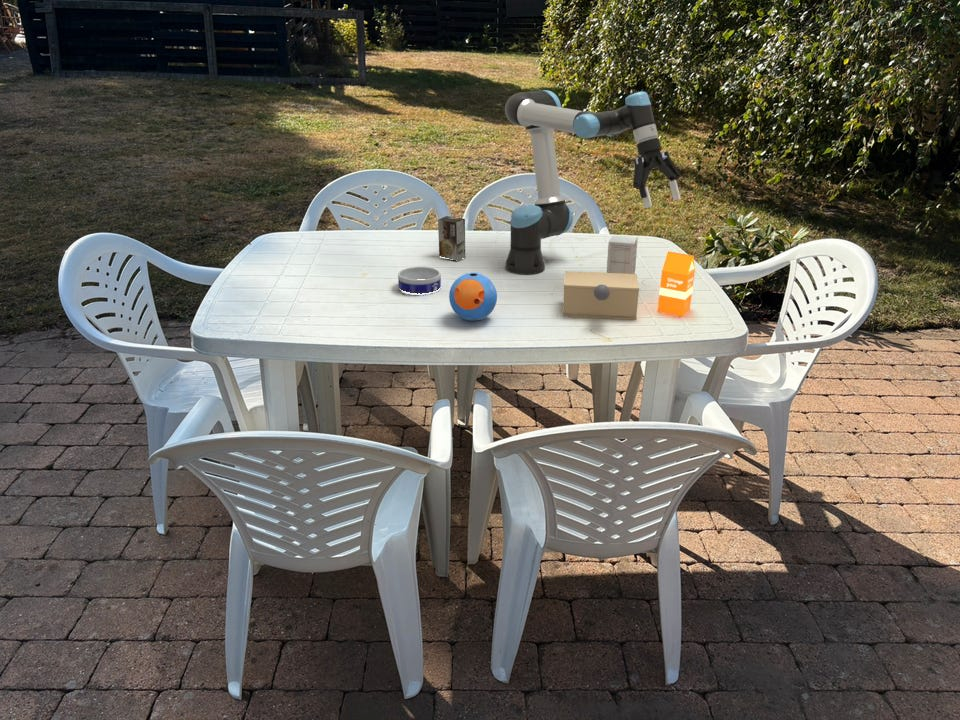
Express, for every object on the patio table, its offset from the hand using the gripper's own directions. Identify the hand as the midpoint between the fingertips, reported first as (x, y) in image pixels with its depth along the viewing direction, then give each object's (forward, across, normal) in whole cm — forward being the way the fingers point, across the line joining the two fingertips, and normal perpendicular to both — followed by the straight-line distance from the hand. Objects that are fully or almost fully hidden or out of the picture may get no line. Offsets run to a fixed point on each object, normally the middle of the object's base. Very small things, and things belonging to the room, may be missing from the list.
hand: (663, 203), depth 257 cm
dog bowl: (+5, -63, +63) cm, 90 cm away
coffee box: (-3, -35, +84) cm, 91 cm away
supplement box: (+23, 0, +30) cm, 38 cm away
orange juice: (+36, -5, +2) cm, 36 cm away
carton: (+28, -25, +16) cm, 41 cm away
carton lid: (+22, -28, +8) cm, 36 cm away
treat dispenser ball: (+20, -64, +32) cm, 74 cm away
